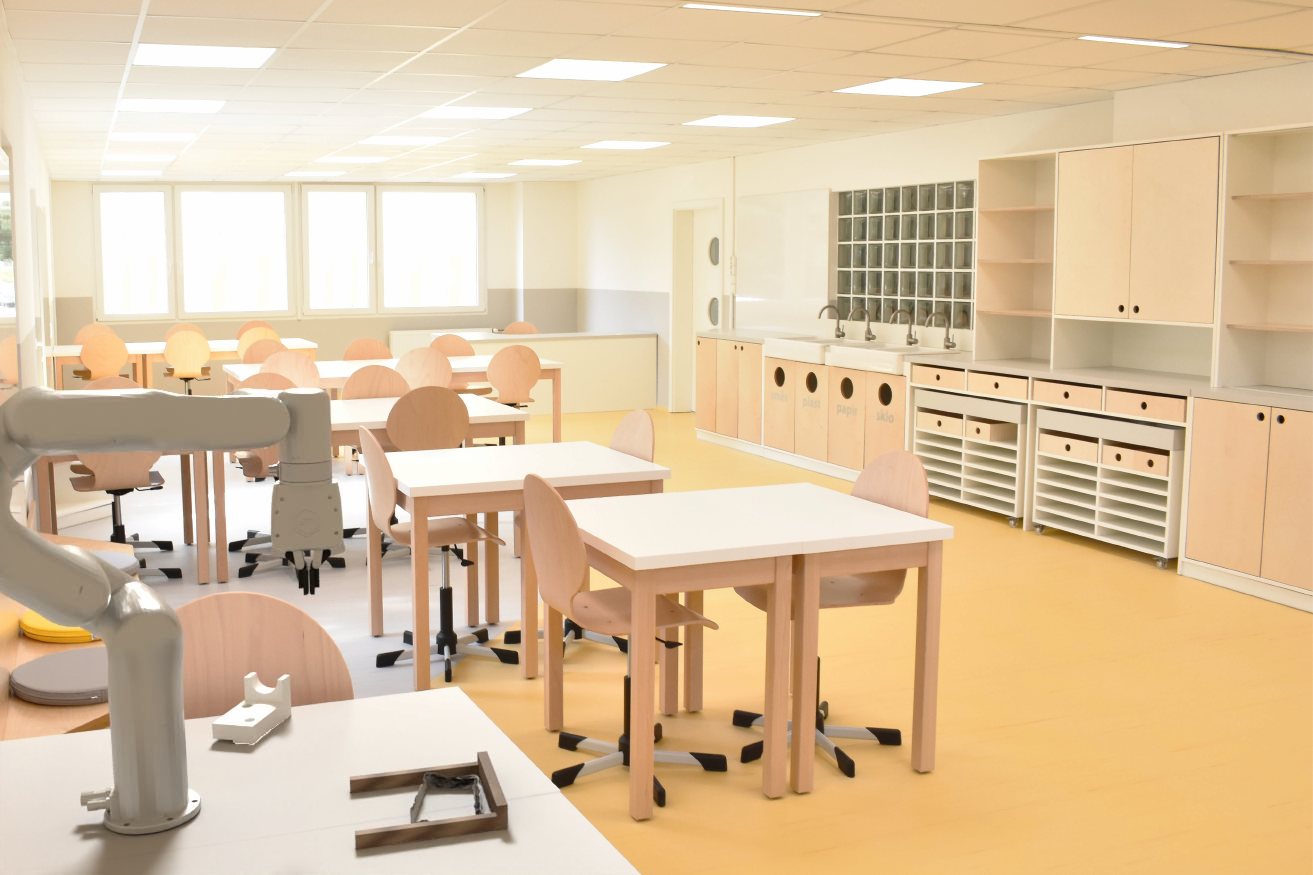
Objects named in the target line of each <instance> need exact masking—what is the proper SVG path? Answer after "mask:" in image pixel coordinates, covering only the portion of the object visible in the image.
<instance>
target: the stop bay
mask: <svg viewBox="0 0 1313 875" xmlns="http://www.w3.org/2000/svg"><path fill="white" fill-rule="evenodd" d="M476 753H477V755H476V756H477V757H476V760H477V761H471V762H464V763H463V762H462V763H454V764H453V763H452V764H446V765H445V764H444V765H438V766H429V767H421V768H412V769H405V770H404V769H403V770H394V771H388V772H387V771H385V772H379V773H369V774H364V775H363V774H362V775H361V774H360V775H353V776H349V791H350V794H351V793H361V792H369V791H370V792H371V791H378V790H385V789H393V788H394V789H395V788H400V787H401V788H402V787H410V786H417V785H418V786H420V785H422V784H423V779H424V774H425V773H432V772H435V773H438V774H441V775H445V776H447V777H449V776H467V775H472V774H474V775H477V776H478V777H479V782H480V785H481V789H482V790H483V793H484V796H485V799H486V802H487V805H488V807H489V811H490V812H488V813H482V814H480V815H475V814H474V815H467V816H465V815H464V816H459V817H458V816H457V817H453V818H443V819H436V820H435V819H434V820H428V821H427V822H420V821H418V822H419V823H412V824H411V823H405V824H398V825H392V826H391V825H390V826H384V827H375V828H370V829H369V828H367V829H361V830H359V829H358V830H355V831H354V842H355V843H354V845H355V850H360V849H368V848H376V847H382V846H383V847H384V846H389V845H397V844H405V843H410V842H412V841H413V842H419V841H427V840H433V839H432V838H434V839H440V837H442V838H447V837H454V836H455V837H456V836H463V835H470V834H476V833H483V832H484V833H485V832H493V831H499V830H505V829H506V830H507V829H508V828H509V808H508V807H509V805H508V802H507V799H506V797H505V794H504V792H503V789H502V786H501V783H500V781H499V778H498V776H497V774H496V770H495V769H494V766H493V765H494V764H493V763H492V761H491V758H490V755H489V752H488V751H487V750H485V751H484V750H483V751H477V752H476Z"/></svg>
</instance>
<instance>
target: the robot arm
mask: <svg viewBox="0 0 1313 875" xmlns="http://www.w3.org/2000/svg"><path fill="white" fill-rule="evenodd" d="M331 410H332V409H331V397H330V395H329V393H328V392H327V391H326V390H324V389H321V388H316V387H315V388H313V387H299V388H298V387H296V388H288V389H285V390H275V389H274V390H268V389H260V388H238V389H235V390H233V391H231V392H229V393H227V394H226V395H223V396H222V395H220V396H219V395H218V396H217V395H214V396H213V395H209V396H208V395H193V394H192V395H190V394H189V395H188V394H180V393H175V392H169V391H164V390H160V389H153V388H151V389H150V388H121V389H120V388H117V389H72V390H71V389H68V390H67V389H65V390H64V389H63V390H56V389H53V388H51V387H47V386H40V385H36V386H29V387H26V388H23V389H20V390H19V391H17V392H15V393H14V394H12V395H11V396H10V397H9V398H8V399H6V400H5V401H4V402H3V403H1V405H0V593H1V594H2V595H4V596H5V597H7V598H9V599H11V600H13V601H15V602H17V603H18V604H19V605H21V606H23V607H25V608H28V609H29V610H30V611H33V612H35V613H36V614H38V615H39V616H41V617H42V618H44V619H45V620H47V621H49V622H50V623H52V624H55V625H58V626H61V627H66V628H78V627H79V628H80V629H83V630H84V631H86V632H88V633H90V634H92V635H94V636H96V637H97V638H99V639H101V641H102V643H103V645H104V646H105V648H106V655H107V669H108V670H107V697H108V698H107V700H108V716H109V726H110V728H109V729H110V742H111V743H110V744H111V745H110V746H111V758H112V774H113V785H112V786H107V787H106V788H105V790H90V791H89V790H88V791H82V792H80V793H81V794H80V806H81V807H86V810H87V811H86V812H95V811H99V810H105V811H104V813H103V823H104V826H105V827H106V828H107V829H108V830H110V831H112V832H115V833H119V834H125V835H143V834H144V835H147V834H153V833H160V832H162V831H166V830H170V829H172V828H175V827H178V826H180V825H182V824H185V823H186V822H188V821H190V820H191V819H192V818H193V817H195V816H196V815H198V812H200V810H201V808H202V807H201V806H202V803H201V802H202V799H201V796H200V794H199V793H198V792H196V791H195V790H193V789H190V788H189V781H188V779H189V778H188V776H189V775H188V761H187V758H188V757H187V742H186V741H187V740H186V724H185V723H186V722H185V720H186V719H185V705H184V704H185V703H184V688H183V687H184V685H183V684H184V683H183V682H184V681H183V680H184V679H183V666H184V665H183V663H184V652H185V650H184V649H185V636H184V630H183V625H182V623H181V620H180V618H179V615H178V614H177V612H176V611H175V610H174V608H173V607H172V606H171V605H170V604H169V603H168V602H167V601H166V600H165V599H164V598H163V597H162V596H161V595H160V594H159V593H158V592H157V591H156V590H154V589H153V588H152V587H151V586H149V585H148V584H146V583H144V582H142V581H141V580H139V579H137V578H135V577H133V576H132V575H130V574H128V573H127V572H126V571H124V570H122V569H120V568H118V567H117V566H115V565H113V564H111V563H109V562H108V561H106V560H104V559H103V558H102V557H99V556H97V554H94V553H92V552H91V551H89V550H87V549H85V548H83V547H80V546H76V545H72V544H56V543H54V542H52V541H51V540H49V539H47V538H45V537H44V536H42V535H41V534H40V533H38V532H36V531H34V530H33V529H31V528H29V527H27V526H25V525H23V524H22V523H20V522H19V521H17V520H16V518H15V517H14V516H13V514H12V512H11V499H12V496H13V486H14V485H13V482H14V481H16V479H18V478H19V477H20V476H21V475H22V474H23V473H25V471H27V470H28V469H29V468H30V467H31V466H33V464H34V463H36V462H37V461H38V460H39V459H40V458H41V457H42V456H46V457H47V456H48V457H49V456H51V457H53V456H71V455H73V456H75V455H87V454H88V455H89V454H91V455H92V454H110V453H112V454H113V453H130V452H131V453H132V452H133V453H134V452H158V453H159V452H161V453H162V452H163V453H164V452H165V453H167V452H170V453H171V452H222V451H223V452H224V451H225V452H226V451H227V452H228V451H242V450H243V451H245V450H246V451H247V450H260V449H266V448H270V447H274V446H275V445H276V444H277V445H278V446H277V449H278V451H277V452H278V453H277V454H278V462H276V464H273V465H272V464H271V465H268V475H274V476H276V477H277V478H278V480H277V481H275V482H274V483H273V486H272V494H271V503H270V504H271V505H270V507H271V508H270V509H271V510H270V512H271V513H270V541H271V548H270V552H269V554H270V556H272V557H276V558H282V559H286V560H288V562H290V563H291V564H292V565H293V566H294V567H295V568H296V569H297V572H298V573H297V575H298V576H297V578H298V580H297V582H298V589H303V590H302V591H303V596H308V595H312V596H315V595H316V589H317V588H318V589H319V588H320V584H321V583H320V581H321V580H320V568H321V566H322V565H323V564H324V563H325V562H326V561H327V560H328V559H329V558H330V557H332V556H336V555H339V554H343V553H345V551H346V546H345V542H344V521H343V520H344V519H343V507H342V506H343V505H342V498H341V492H340V487H339V483H338V480H337V479H336V478H333V455H332V454H333V453H332V450H333V449H332V418H331V417H332V415H331V413H332V412H331ZM304 551H313V556H312V560H311V561H310V563H309V564H310V565H308V563H307V561H306V560H305V555H304Z"/></svg>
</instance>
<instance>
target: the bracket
mask: <svg viewBox="0 0 1313 875" xmlns="http://www.w3.org/2000/svg"><path fill="white" fill-rule="evenodd" d="M243 683H244V684H243V686H244V687H243V688H244V700H243V701H241V702H239V703H238V705H236V706H234V707H233V708H231V709H230V710H228V711H227V712H226V713H225V714H223V715H221V716H220V717H218V718H217V719H216V720H215V721H213V722H212V723H211V726H212V727H211V728H212V739H215V740H216V739H217V740H225V741H227V740H229V741H232V744H233V743H249V744H253V743H255V742H256V741H257V740H258V739H259V738H260V737H261V736H263V735H264V734H266V732H268V731H269V730H270V729H272V728H274V727H275V726H276V725H277V724H279V723H281V722H282V721H283V720H285V719H286V718H287V717H288V718H289V716H290V715H291V716H292V696H291V694H292V693H291V675H290V674H283V675H282V676H281V677H279V678H277V682H276V686H275V687H268V686H266V685H264V684H263V682H261V681H260V680H259V678H258V674H257V672H254V671H253V672H252V671H251V672H249V674H247V675H245V676H244V677H243ZM291 716H290V717H291ZM288 718H287V719H288ZM287 719H286V720H287ZM286 720H285V721H286ZM283 722H284V721H283ZM283 722H282V723H283ZM282 723H281V724H282Z"/></svg>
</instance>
